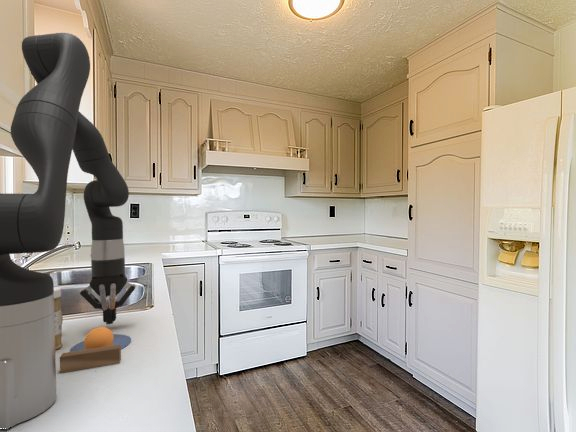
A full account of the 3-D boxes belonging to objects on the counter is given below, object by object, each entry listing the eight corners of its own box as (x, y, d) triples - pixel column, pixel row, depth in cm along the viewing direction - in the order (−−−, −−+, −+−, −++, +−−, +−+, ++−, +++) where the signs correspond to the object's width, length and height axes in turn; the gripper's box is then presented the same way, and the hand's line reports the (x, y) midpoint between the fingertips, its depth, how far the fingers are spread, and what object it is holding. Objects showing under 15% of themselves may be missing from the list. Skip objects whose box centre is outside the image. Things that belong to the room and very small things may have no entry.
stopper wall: (63, 368, 61) (62, 352, 61) (121, 358, 65) (120, 344, 64) (60, 373, 59) (59, 357, 59) (119, 363, 63) (119, 348, 63)
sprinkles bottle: (44, 345, 72) (42, 287, 71) (66, 343, 72) (65, 286, 72) (32, 354, 67) (30, 292, 67) (55, 352, 68) (54, 290, 68)
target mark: (108, 359, 64) (108, 358, 64) (55, 356, 66) (55, 355, 66) (141, 335, 76) (141, 335, 76) (96, 334, 78) (96, 333, 78)
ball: (101, 360, 64) (101, 334, 64) (77, 358, 65) (77, 332, 65) (119, 348, 70) (119, 323, 69) (97, 346, 70) (96, 322, 70)
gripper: (137, 253, 87) (139, 315, 87) (82, 256, 82) (83, 322, 83) (135, 257, 80) (136, 324, 80) (74, 260, 75) (76, 332, 76)
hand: (109, 323), depth 81 cm, fingers closed
